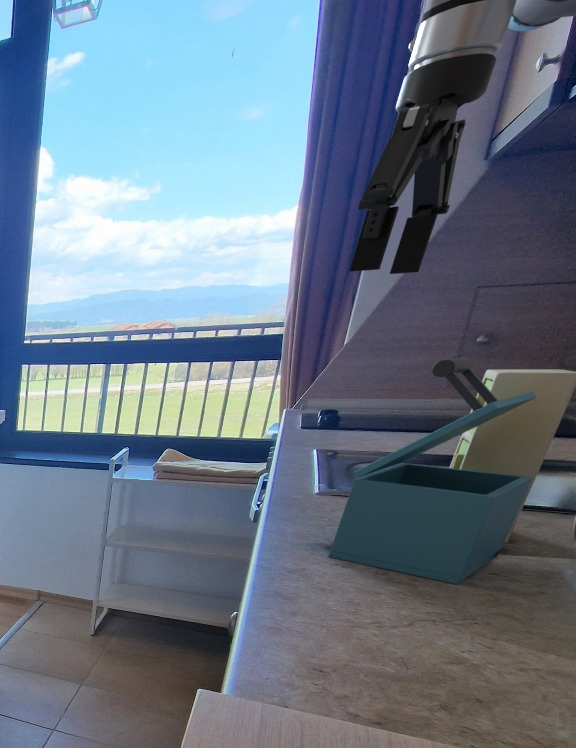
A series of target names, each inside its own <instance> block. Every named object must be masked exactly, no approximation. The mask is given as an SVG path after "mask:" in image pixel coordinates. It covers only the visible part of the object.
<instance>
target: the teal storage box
mask: <svg viewBox="0 0 576 748" xmlns="http://www.w3.org/2000/svg"><path fill="white" fill-rule="evenodd" d="M532 478H533V477H527V476H518V475H509V474H500V473H490V472H481V471H472V470H463V469H454V468H449V467H445V466H435V465H425V464H418V463H408V462H402V463H399V464H396V465H393V466H391V467H388V468H385V469H382V470H379V471H376V472H373V473H370V474H367V475H364V476H362V477H356V478H354V479H353V481H352V485H351V487H350V491H349V493H348V497H347V500H346V504H345V506H344V508H343V512H342V514H341V518H340V521H339V524H338V527H337V530H336V533H335V535H334V538H333V542H332V545H331V547H330V551H329V553H328V558H333V559H337V560H340V561H341V560H342V561H347V562H351V563H356V564H359V565H365V566H371V567H373V568H380V569H383V570H387V571H394V572H398V573H402V574H407V575H412V576H416V577H421V578H425V579H431V580H434V581H440V582H444V583H449V584H454V585H458V584H459V583H461V582H462V581H464V580H466V579H467V578H468V577H470V576H471V575H473V574H474V573H475V572H477V571H478V570H480V569H482V568H483V567H485V566H486V565H487V564H488V563H490V562H492V561H493V560H494V559H495V558H497V557H499V553H497V552H499V551H500V550H501V549H502V547H503V544H504V543H505V542H504V540H505V538H506V536H507V534H508V532H509V529H510V527H511V525H512V523H513V520H514V518H515V516H516V514H517V512H518V509H519V507H520V505H521V503H522V501H523V498H524V496H525V494H526V492H527V489H528V487H529V485H530V483H531V481H532Z"/></svg>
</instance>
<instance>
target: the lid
mask: <svg viewBox="0 0 576 748" xmlns="http://www.w3.org/2000/svg"><path fill="white" fill-rule="evenodd" d="M474 366H475V361H474V359H473V358H471V357H469V356H464V357H455V358H449V359H442V360H439V361H437V362H435V364H434V365H433V366H432V368H431V373H432V374H433V376H435V377H436V378H446V380H447V381H448V382H449V383H450V384H451V386H452V387H453V388H454V389H455V391H456V392H457V393H458V394H459V395H460V397H461V398H462V399H463V400H464V401H465V402H466V403H467V405H468V406H469V407H470V408H471V409H473V411H474V412H472V413H470V412H469V413H468V414H466V415H463V416H462V417H460V418H458V419H456V420H454V421H452V422H450V423H449V424H446V425H444V426H443V427H441V428H439V429H436V430H434V431H432V432H431V433H428V434H427V435H425V436H423V437H421V438H419V439H417V440H415V441H412V442H411V443H408V444H407V445H404V446H403V447H401V448H399V449H397V450H394V451H392V452H391V453H389V454H386V455H385V456H383V457H381V458H379V459H377V460H375V461H373V462H371V463H369V464H367V465H365V466H363V467H361V468H359V469H358V470H355V471H354V472H353V473H354V474H355V476H356V478H359V477H362V476H365V475H368V474H370V473H373V472H376V471H379V470H382V469H385V468H388V467H391V466H394V465H397V464H400V463H406V462H407V461H410V460H411V459H413V458H415V457H418V456H420V455H422V454H423V453H426V452H428V451H430V450H431V449H434V448H436V447H438V446H440V445H442V444H444V443H446V442H449V441H450V440H452V439H455V438H456V437H459V436H460V435H462V434H463V433H465V432H467V431H469V430H471V429H473V428H475V427H477V426H479V425H481V424H483V423H485V422H487V421H489V420H491V419H493V418H495V417H497V416H499V415H502V414H504V413H506V412H508V411H510V410H512V409H514V408H516V407H518V406H520V405H522V404H524V403H526V402H528V401H530V400H532V399H534V398H536V396H535V395H534V394H533V392H530V393H526V394H522V395H518V396H515V397H511V398H507V399H503V400H500V401H498V400H497V399H496V398H495V396H494V395H493V394H492V393H491V392H490V391H489V389H488V388H487V387H486V386H485V385H484V384H483V382H482V380H481V379H480V377H479V376H478V375H477V374H476V373H475V371H473V368H474ZM461 374H462V376H463V377H464V378H465V380H466V381H467V382H468V383H469V384H470V385H471V386H472V388H473V389H474V390H475V392H477V394H478V393H479V394H480V396H481V397H482V398H483V399H484V400H485V402H486V403H487V404H488V405H486V406H483V405H482V404H481V403H480V401H479V400H478V399H477V398H476V396H475V394H474V393H473V391H472V390H471V389H470V388H469V387H468V385H466V384H465V382H464V381H463V380H462V379H461V378H460V376H459V375H461Z"/></svg>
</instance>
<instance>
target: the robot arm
mask: <svg viewBox="0 0 576 748" xmlns="http://www.w3.org/2000/svg"><path fill="white" fill-rule="evenodd" d="M568 17H570V18H571V17H576V0H426V3H425V7H424V11H423V14H422V18H421V20H420V21H421V22H420V25H419V29H418V32H417V36H416V38H415V39H413V40H411V41H410V42H409V44H408V50H409V51H412V52H411V55H410V59H409V63H408V66H407V67H408V68H409V69H410V70H411V71H410V72H408V73H407V75H405V76H404V78H403V81H402V84H401V87H400V91H399V95H398V97H397V101H396V104H395V111H396V112H397V113H398V115H397V119H396V121H395V124H394V127H393V130H392V133H391V135H390V137H389V139H388V141H387V143H386V145H385V148H384V150H383V152H382V154H381V156H380V158H379V161H378V162H377V164H376V167H375V169H374V171H373V173H372V175H371V177H370V180H369V182H368V184H367V185H366V189H365V190H364V191H363V194H362V199H361V200H359V203H358V210H359V211H365V210H367V211H366V213H365V217H364V220H363V223H362V227H361V230H360V232H359V233H360V234H359V236H358V241H357V244H356V247H355V250H354V254H353V257H352V260H351V263H350V267H349V272H353V273H354V272H364V271H365V272H367V271H377V270H379V271H380V270H381V267H382V263H383V261H384V257H385V254H386V250H387V247H388V244H389V241H390V238H391V234H392V231H393V228H394V224H395V222H396V218H397V215H398V212H399V208H400V206H398V205H397V206H396V204H397V202H398V201H399V200H400V197H401V196H402V195H403V192H405V189H406V188H407V186H408V185H409V183H410V181H411V179H412V178H413V192H412V193H413V194H412V208H411V209H412V211H411V217H407V218H406V221H405V224H404V227H403V230H402V233H401V237H400V240H399V243H398V246H397V249H396V253H395V256H394V258H393V262H392V264H391V268H390V271H389V275H398V274H412V273H419V271H420V269H421V265H422V263H423V260H424V257H425V255H426V250H427V247H428V245H429V241H430V239H431V236H432V233H433V229H434V226H435V224H436V221H437V218H438V216H439V215H446V214H447V213H448V212H449V209H450V207H451V205H450V204H449V200H450V195H451V194H450V193H451V190H452V189H451V188H452V184H453V178H454V174H455V168H456V163H457V157H458V152H459V149H460V143H461V140H462V136H463V132H464V129H465V127H466V119H460V120H457V115H458V110H459V108H460V107H462V106H463V105H465V104H470V103H473V102H475V101H477V100H479V99H480V98H481V97H483V96H484V94H485V93H486V91H487V89H488V87H489V83H490V80H491V77H492V75H493V72H494V69H495V66H496V63H497V57H496V56H495V55H494V54H495V53H496V52H498V51H499V50H500V48H502V47H503V44H504V40H505V37H506V34H507V31H508V29H509V30H512V31H516V32H529V31H534V30H538V29H540V28H543V27H545V26H548V25H551V24H553V23H555V22H557V21H558V20H560V19H561V18H568ZM413 176H414V177H413Z"/></svg>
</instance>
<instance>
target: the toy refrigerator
mask: <svg viewBox="0 0 576 748" xmlns="http://www.w3.org/2000/svg"><path fill="white" fill-rule="evenodd" d="M481 381H482V382H483V384H484V385H485V386H486V387H487V388H488V389H489V391H490V392H491V393H492V394H493V395H494V396H495V398H496V399H497V400H498V401H500V400H503V399H507V398H511V397H515V396H518V395H522V394H526V393H530V392H533V394H534V395H535V396H536V398H534V399H532V400H530V401H528V402H526V403H524V404H522V405H520V406H518V407H516V408H514V409H512V410H510V411H508V412H506V413H504V414H502V415H499V416H497V417H495V418H493V419H491V420H489V421H487V422H485V423H483V424H481V425H479V426H477V427H475V428H473V429H471V430H469V431H467V432H465V433H463V434H461V436H460V438H459V441H458V444H457V446H456V448H455V451H454V454H453V457H452V460H451V461H450V465H449V467H448V468H454V469H463V470H472V471H481V472H490V473H500V474H509V475H518V476H527V477H533V478H532V481H531V483H530V485H529V487H528V489H527V492H526V494H525V496H524V498H523V501H522V503H521V505H520V507H519V509H518V512H517V514H516V516H515V518H514V520H513V523H512V525H511V527H510V529H509V532H508V534H507V536H506V538H505V540H504V543H507V544H508V542H509V541H510V538H511V536H512V533H513V531H514V528H515V526H516V524H517V522H518V519H519V517H520V515H521V513H522V511H523V508H524V506H525V503H526V501H527V499H528V497H529V494H530V492H531V490H532V487H533V485H534V483H535V480H536V478H537V476H538V474H539V471H540V470H541V467H542V465H543V462H544V459H545V457H546V455H547V454H548V450H549V448H550V446H551V444H552V441H553V439H554V437H555V435H556V432H557V430H558V428H559V426H560V424H561V421H562V418H563V417H564V414H565V411H566V409H567V407H568V405H569V402H570V400H571V398H572V395H573V393H574V391H575V389H576V371H574V370H567V369H487V370H486V371H485V373H484V375H483V378H482V380H481ZM475 397H476V398H477V399H478V400H479V401H480V403H481V404H482V405H483V406H486V405H488V404H487V403H486V402H485V400H484V399H483V398H482V397H481V396H480V394H479V393H478V392H477V393H476V396H475ZM472 412H474V411H473V409H472V408H471V410H470V412H469V414H470V413H472Z"/></svg>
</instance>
